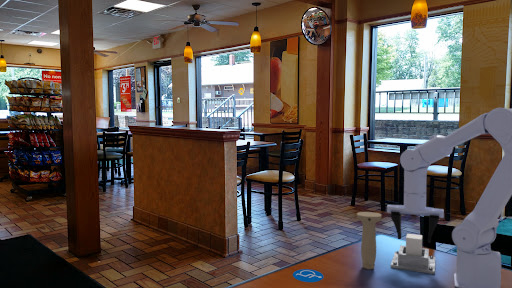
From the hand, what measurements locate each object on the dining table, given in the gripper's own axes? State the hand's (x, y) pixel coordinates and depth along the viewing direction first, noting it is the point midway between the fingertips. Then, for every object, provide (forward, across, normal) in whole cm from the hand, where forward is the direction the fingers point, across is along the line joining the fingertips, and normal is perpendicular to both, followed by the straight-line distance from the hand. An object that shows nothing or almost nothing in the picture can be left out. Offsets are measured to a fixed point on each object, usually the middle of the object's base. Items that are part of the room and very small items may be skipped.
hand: (414, 240), depth 107 cm
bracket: (+7, 0, 0) cm, 7 cm away
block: (+6, 0, 0) cm, 6 cm away
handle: (+7, +11, +8) cm, 15 cm away
